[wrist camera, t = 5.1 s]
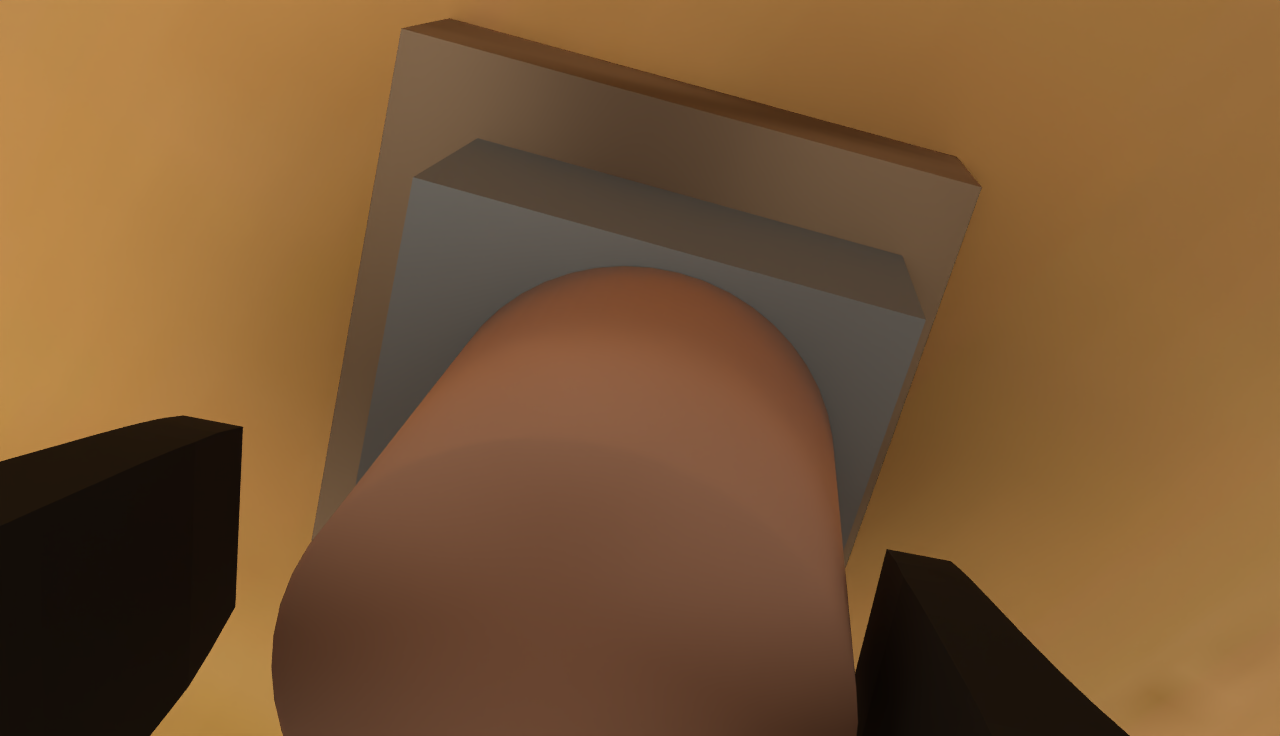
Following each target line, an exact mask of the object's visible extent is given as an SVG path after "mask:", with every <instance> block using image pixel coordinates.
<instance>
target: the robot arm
mask: <svg viewBox="0 0 1280 736" xmlns="http://www.w3.org/2000/svg"><path fill="white" fill-rule="evenodd" d="M242 434H243V427H241V426H236V425H231V424H225V423H220V422H215V421H209V420H204V419H199V418H194V417H188V416H176V417H168V418H162V419H157V420H152V421H147V422H143V423H139V424H135V425H131V426H127V427H123V428H119V429H115V430H111V431H108V432H104V433H100V434H97V435H93V436H90V437H86V438H82V439H79V440H75V441H72V442H68V443H65V444H61V445H58V446H54V447H50V448H47V449H43V450H40V451H36V452H33V453H29V454H26V455H22V456H18V457H15V458H11V459H8V460H4V461H1V462H0V736H150V735H151V734H152V732H153V731H154V730H155V729H156V727H157V726H158V725H159V724H160V722H161V721H162V720H163V719H164V717H165V716H166V715H167V714H168V712H169V711H170V710H171V709H172V707H173V706H174V705H175V703H176V702H177V701H178V700H179V698H180V697H181V696H182V694H183V693H184V692H185V690H186V689H187V688H188V687H189V685H190V683H191V682H192V680H193V678H194V677H195V675H196V674H197V672H198V670H199V669H200V667H201V665H202V664H203V662H204V660H205V659H206V657H207V656H208V654H209V652H210V651H211V649H212V647H213V645H214V644H215V642H216V640H217V638H218V636H219V635H220V633H221V631H222V629H223V628H224V626H225V624H226V622H227V620H228V619H229V617H230V615H231V613H232V612H233V610H234V608H235V601H236V577H237V554H238V530H239V506H240V482H241V458H242ZM855 681H856V694H857V714H858V726H857V736H1129V735H1128V734H1127V733H1126V732H1125V731H1124V730H1123V729H1121V728H1120V727H1119V726H1118V725H1117V724H1116V723H1115V722H1114V721H1112V720H1111V719H1110V718H1109V717H1108V716H1107V715H1106V714H1105V713H1103V712H1102V711H1101V710H1100V709H1099V708H1098V707H1097V706H1096V705H1094V704H1093V703H1092V702H1091V701H1090V700H1089V699H1088V698H1087V697H1086V696H1085V695H1084V694H1083V693H1082V692H1081V691H1080V690H1078V689H1077V688H1076V687H1075V686H1074V685H1073V684H1072V683H1071V682H1070V681H1069V680H1068V679H1067V678H1066V677H1065V676H1064V675H1063V674H1062V673H1061V672H1060V671H1059V670H1058V669H1057V668H1056V667H1055V666H1054V665H1053V664H1052V663H1051V662H1050V661H1049V660H1048V659H1047V658H1046V657H1045V656H1044V655H1043V654H1042V653H1041V652H1040V651H1039V650H1038V649H1037V648H1036V647H1035V646H1034V645H1033V644H1032V643H1031V642H1030V641H1029V640H1028V639H1027V638H1026V637H1025V636H1024V635H1023V634H1022V633H1021V632H1020V631H1019V630H1018V629H1017V627H1016V626H1015V625H1014V624H1013V623H1012V622H1011V621H1010V620H1009V619H1008V618H1007V617H1006V616H1005V615H1004V614H1003V613H1002V612H1001V611H1000V610H999V609H998V607H997V606H996V605H995V604H994V603H993V602H992V601H991V600H990V599H989V598H988V597H987V596H986V595H985V594H984V593H983V592H982V591H981V590H980V589H979V588H978V587H977V586H976V584H975V583H974V582H973V581H972V580H971V579H970V578H969V577H968V576H967V575H966V574H965V573H963V572H962V571H961V570H960V569H959V568H958V567H957V566H956V565H954V564H953V563H952V562H951V561H946V560H941V559H936V558H930V557H925V556H920V555H915V554H909V553H904V552H899V551H893V550H888V549H887V550H886V554H885V558H884V562H883V566H882V570H881V574H880V578H879V582H878V586H877V590H876V594H875V598H874V601H873V605H872V609H871V613H870V617H869V621H868V625H867V629H866V633H865V637H864V641H863V645H862V649H861V653H860V657H859V660H858V664H857V668H856V672H855Z"/></svg>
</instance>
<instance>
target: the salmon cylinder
mask: <svg viewBox="0 0 1280 736" xmlns="http://www.w3.org/2000/svg"><path fill="white" fill-rule="evenodd" d="M272 679H273V690H274V701H275V705H276V709H277V713H278V718H279V722H280V726H281V730H282V733H283V736H857V726H858V714H857V694H856V681H855V670H854V660H853V649H852V638H851V628H850V617H849V607H848V596H847V585H846V575H845V564H844V554H843V543H842V532H841V522H840V511H839V500H838V490H837V479H836V469H835V458H834V447H833V437H832V432H831V427H830V422H829V417H828V413H827V410H826V407H825V404H824V401H823V399H822V396H821V393H820V390H819V388H818V386H817V384H816V382H815V380H814V378H813V376H812V374H811V372H810V371H809V369H808V367H807V365H806V364H805V362H804V361H803V359H802V358H801V357H800V355H799V354H798V352H797V351H796V350H795V348H794V347H793V345H792V344H791V343H790V342H789V341H788V340H787V339H786V338H785V336H784V335H783V334H782V333H781V332H780V331H779V330H778V329H777V328H776V327H775V326H774V325H773V324H772V323H771V322H770V321H768V320H767V319H766V318H765V317H764V316H762V315H761V314H760V313H759V312H758V311H756V310H755V309H754V308H753V307H751V306H750V305H748V304H746V303H745V302H743V301H742V300H740V299H739V298H737V297H735V296H734V295H732V294H731V293H729V292H727V291H725V290H722V289H720V288H718V287H716V286H714V285H712V284H710V283H707V282H705V281H703V280H699V279H696V278H693V277H690V276H687V275H684V274H681V273H677V272H672V271H667V270H661V269H656V268H650V267H632V266H616V267H602V268H593V269H588V270H583V271H579V272H574V273H569V274H566V275H563V276H560V277H558V278H555V279H552V280H549V281H546V282H544V283H542V284H540V285H538V286H536V287H534V288H532V289H530V290H528V291H526V292H524V293H522V294H520V295H519V296H517V297H516V298H515V299H513V300H512V301H510V302H509V303H507V304H506V305H504V306H503V307H502V308H500V309H499V310H498V311H497V312H496V313H495V314H494V315H493V316H492V317H490V318H489V319H488V320H487V321H486V322H485V323H484V324H483V325H482V326H481V327H480V328H479V330H478V331H477V332H476V333H475V335H474V336H473V337H472V338H471V339H470V341H469V342H468V343H467V344H466V346H465V347H464V348H463V349H462V351H461V352H460V353H459V355H458V356H457V357H456V358H455V360H454V361H453V362H452V363H451V365H450V366H449V367H448V369H447V370H446V371H445V372H444V374H443V375H442V376H441V377H440V379H439V380H438V381H437V383H436V384H435V385H434V386H433V388H432V389H431V390H430V392H429V393H428V394H427V395H426V397H425V398H424V399H423V400H422V402H421V403H420V404H419V406H418V407H417V408H416V409H415V411H414V412H413V413H412V414H411V416H410V417H409V418H408V420H407V421H406V422H405V423H404V425H403V426H402V427H401V428H400V430H399V431H398V432H397V434H396V435H395V436H394V437H393V439H392V440H391V441H390V442H389V444H388V445H387V446H386V448H385V449H384V450H383V451H382V453H381V454H380V455H379V456H378V458H377V459H376V460H375V462H374V463H373V464H372V465H371V467H370V468H369V469H368V470H367V472H366V473H365V474H364V476H363V477H362V478H361V479H360V481H359V482H358V483H357V484H356V486H355V487H354V488H353V490H352V491H351V492H350V493H349V495H348V496H347V497H346V498H345V500H344V501H343V502H342V504H341V505H340V506H339V507H338V509H337V510H336V511H335V512H334V514H333V515H332V516H331V518H330V519H329V520H328V521H327V523H326V524H325V525H324V527H323V528H322V529H321V530H320V532H319V533H318V534H317V535H316V537H315V538H314V539H313V541H312V542H311V543H310V544H309V546H308V548H307V549H306V551H305V553H304V554H303V556H302V558H301V560H300V561H299V563H298V565H297V566H296V568H295V570H294V572H293V573H292V576H291V578H290V581H289V583H288V586H287V588H286V591H285V594H284V596H283V599H282V601H281V604H280V608H279V613H278V617H277V622H276V626H275V631H274V636H273V652H272Z"/></svg>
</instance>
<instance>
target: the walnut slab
mask: <svg viewBox="0 0 1280 736" xmlns="http://www.w3.org/2000/svg"><path fill="white" fill-rule="evenodd" d="M477 138H479V139H483V140H486V141H490V142H493V143H497V144H501V145H504V146H508V147H512V148H515V149H519V150H522V151H526V152H530V153H533V154H537V155H540V156H544V157H548V158H551V159H555V160H559V161H562V162H566V163H569V164H573V165H577V166H580V167H584V168H587V169H591V170H595V171H598V172H602V173H606V174H609V175H613V176H616V177H620V178H624V179H627V180H631V181H634V182H638V183H642V184H645V185H649V186H652V187H656V188H660V189H663V190H667V191H671V192H674V193H678V194H681V195H685V196H689V197H692V198H696V199H699V200H703V201H707V202H710V203H714V204H718V205H721V206H725V207H728V208H732V209H736V210H739V211H743V212H746V213H750V214H754V215H757V216H761V217H764V218H768V219H772V220H775V221H779V222H783V223H786V224H790V225H793V226H797V227H801V228H804V229H808V230H811V231H815V232H819V233H822V234H826V235H829V236H833V237H837V238H840V239H844V240H848V241H851V242H855V243H858V244H862V245H866V246H869V247H873V248H876V249H880V250H884V251H887V252H891V253H894V254H898V255H902V256H903V259H904V262H905V264H906V267H907V270H908V272H909V275H910V278H911V281H912V283H913V286H914V289H915V291H916V294H917V297H918V300H919V302H920V305H921V308H922V310H923V313H924V316H925V319H926V321H925V324H924V327H923V330H922V332H921V335H920V338H919V341H918V344H917V346H916V349H915V352H914V355H913V358H912V360H911V363H910V366H909V369H908V372H907V374H906V377H905V380H904V383H903V386H902V388H901V391H900V394H899V397H898V400H897V402H896V405H895V408H894V411H893V414H892V416H891V419H890V422H889V425H888V428H887V430H886V433H885V436H884V439H883V442H882V445H881V447H880V450H879V453H878V456H877V459H876V461H875V464H874V467H873V470H872V473H871V475H870V478H869V481H868V484H867V487H866V489H865V492H864V495H863V498H862V501H861V503H860V506H859V509H858V512H857V515H856V517H855V520H854V523H853V526H852V529H851V531H850V534H849V537H848V540H847V543H846V545H845V548H844V551H843V554H844V564H845V568H846V565H847V562H848V559H849V556H850V554H851V551H852V548H853V545H854V542H855V540H856V537H857V534H858V531H859V529H860V526H861V523H862V520H863V517H864V515H865V512H866V509H867V506H868V503H869V501H870V498H871V495H872V492H873V489H874V487H875V484H876V481H877V478H878V476H879V473H880V470H881V467H882V464H883V462H884V459H885V456H886V453H887V450H888V448H889V445H890V442H891V439H892V436H893V434H894V431H895V428H896V425H897V423H898V420H899V417H900V414H901V411H902V409H903V406H904V403H905V400H906V397H907V395H908V392H909V389H910V386H911V383H912V381H913V378H914V375H915V372H916V370H917V367H918V364H919V361H920V358H921V356H922V353H923V350H924V347H925V344H926V342H927V339H928V336H929V333H930V330H931V328H932V325H933V322H934V319H935V317H936V314H937V311H938V308H939V305H940V303H941V300H942V297H943V294H944V291H945V289H946V286H947V283H948V280H949V277H950V275H951V272H952V269H953V266H954V264H955V261H956V258H957V255H958V252H959V250H960V247H961V244H962V241H963V238H964V236H965V233H966V230H967V227H968V224H969V222H970V219H971V216H972V213H973V211H974V208H975V205H976V202H977V199H978V197H979V194H980V191H981V188H982V187H981V186H980V185H979V183H978V182H977V181H976V180H975V179H974V177H973V176H972V175H971V174H970V172H969V171H968V170H967V169H966V168H965V166H964V165H963V164H962V163H961V161H960V160H959V159H958V158H957V157H955V156H951V155H948V154H944V153H940V152H937V151H933V150H929V149H926V148H922V147H918V146H915V145H911V144H907V143H904V142H900V141H896V140H893V139H889V138H885V137H882V136H878V135H874V134H871V133H867V132H863V131H860V130H856V129H852V128H849V127H845V126H841V125H838V124H834V123H830V122H827V121H823V120H819V119H816V118H812V117H808V116H805V115H801V114H797V113H794V112H790V111H786V110H783V109H779V108H775V107H772V106H768V105H764V104H761V103H757V102H753V101H750V100H746V99H742V98H739V97H735V96H731V95H728V94H724V93H720V92H717V91H713V90H709V89H706V88H702V87H698V86H695V85H691V84H687V83H684V82H680V81H677V80H673V79H669V78H666V77H662V76H658V75H655V74H651V73H647V72H644V71H640V70H636V69H633V68H629V67H625V66H622V65H618V64H614V63H611V62H607V61H603V60H600V59H596V58H592V57H589V56H585V55H581V54H578V53H574V52H570V51H567V50H563V49H559V48H556V47H552V46H548V45H545V44H541V43H537V42H534V41H530V40H526V39H523V38H519V37H515V36H512V35H508V34H504V33H501V32H497V31H493V30H490V29H486V28H482V27H479V26H475V25H471V24H468V23H464V22H460V21H457V20H453V19H445V20H440V21H435V22H430V23H425V24H420V25H416V26H411V27H406V28H401V34H400V39H399V45H398V51H397V56H396V62H395V68H394V74H393V79H392V85H391V91H390V96H389V102H388V108H387V113H386V119H385V125H384V131H383V136H382V142H381V148H380V153H379V159H378V165H377V171H376V176H375V182H374V188H373V193H372V199H371V205H370V211H369V216H368V222H367V228H366V233H365V239H364V245H363V250H362V256H361V262H360V268H359V273H358V279H357V285H356V290H355V296H354V302H353V308H352V313H351V319H350V325H349V330H348V336H347V342H346V347H345V353H344V359H343V365H342V370H341V376H340V382H339V387H338V393H337V399H336V405H335V410H334V416H333V422H332V427H331V433H330V439H329V445H328V450H327V456H326V462H325V467H324V473H323V479H322V484H321V490H320V496H319V502H318V507H317V513H316V519H315V524H314V530H313V536H312V541H313V539H314V538H315V537H316V535H317V534H318V533H319V532H320V530H321V529H322V528H323V527H324V525H325V524H326V523H327V521H328V520H329V519H330V518H331V516H332V515H333V514H334V512H335V511H336V510H337V509H338V507H339V506H340V505H341V504H342V502H343V501H344V500H345V498H346V497H347V496H348V495H349V493H350V492H351V491H352V490H353V488H354V487H355V485H356V479H357V474H358V469H359V463H360V458H361V453H362V447H363V442H364V437H365V431H366V426H367V421H368V415H369V410H370V405H371V399H372V394H373V389H374V383H375V378H376V372H377V367H378V362H379V356H380V351H381V346H382V340H383V335H384V330H385V324H386V319H387V314H388V308H389V303H390V298H391V292H392V287H393V282H394V276H395V271H396V266H397V260H398V255H399V249H400V244H401V239H402V233H403V228H404V223H405V217H406V212H407V207H408V201H409V196H410V191H411V185H412V180H413V177H414V176H416V175H417V174H419V173H421V172H422V171H424V170H426V169H427V168H429V167H431V166H432V165H434V164H436V163H437V162H439V161H441V160H442V159H444V158H445V157H447V156H449V155H450V154H452V153H454V152H455V151H457V150H459V149H460V148H462V147H464V146H465V145H467V144H469V143H470V142H472V141H474V140H475V139H477Z"/></svg>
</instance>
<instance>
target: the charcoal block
mask: <svg viewBox="0 0 1280 736" xmlns="http://www.w3.org/2000/svg"><path fill="white" fill-rule="evenodd" d="M616 266H632V267H650V268H656V269H661V270H667V271H672V272H677V273H681V274H684V275H687V276H690V277H693V278H696V279H699V280H703V281H705V282H707V283H710V284H712V285H714V286H716V287H718V288H720V289H722V290H725V291H727V292H729V293H731V294H732V295H734V296H735V297H737V298H739V299H740V300H742V301H743V302H745V303H746V304H748V305H750V306H751V307H753V308H754V309H755V310H756V311H758V312H759V313H760V314H761V315H762V316H764V317H765V318H766V319H767V320H768V321H770V322H771V323H772V324H773V325H774V326H775V327H776V328H777V329H778V330H779V331H780V332H781V333H782V334H783V335H784V336H785V338H786V339H787V340H788V341H789V342H790V343H791V344H792V345H793V347H794V348H795V350H796V351H797V352H798V354H799V355H800V357H801V358H802V359H803V361H804V362H805V364H806V365H807V367H808V369H809V371H810V372H811V374H812V376H813V378H814V380H815V382H816V384H817V386H818V388H819V390H820V393H821V396H822V399H823V401H824V404H825V407H826V410H827V413H828V417H829V422H830V427H831V432H832V437H833V447H834V458H835V469H836V479H837V490H838V500H839V511H840V522H841V532H842V543H843V551H844V548H845V545H846V543H847V540H848V537H849V534H850V531H851V529H852V526H853V523H854V520H855V517H856V515H857V512H858V509H859V506H860V503H861V501H862V498H863V495H864V492H865V489H866V487H867V484H868V481H869V478H870V475H871V473H872V470H873V467H874V464H875V461H876V459H877V456H878V453H879V450H880V447H881V445H882V442H883V439H884V436H885V433H886V430H887V428H888V425H889V422H890V419H891V416H892V414H893V411H894V408H895V405H896V402H897V400H898V397H899V394H900V391H901V388H902V386H903V383H904V380H905V377H906V374H907V372H908V369H909V366H910V363H911V360H912V358H913V355H914V352H915V349H916V346H917V344H918V341H919V338H920V335H921V332H922V330H923V327H924V324H925V321H926V319H925V316H924V313H923V310H922V308H921V305H920V302H919V300H918V297H917V294H916V291H915V289H914V286H913V283H912V281H911V278H910V275H909V272H908V270H907V267H906V264H905V262H904V259H903V256H902V255H898V254H894V253H891V252H887V251H884V250H880V249H876V248H873V247H869V246H866V245H862V244H858V243H855V242H851V241H848V240H844V239H840V238H837V237H833V236H829V235H826V234H822V233H819V232H815V231H811V230H808V229H804V228H801V227H797V226H793V225H790V224H786V223H783V222H779V221H775V220H772V219H768V218H764V217H761V216H757V215H754V214H750V213H746V212H743V211H739V210H736V209H732V208H728V207H725V206H721V205H718V204H714V203H710V202H707V201H703V200H699V199H696V198H692V197H689V196H685V195H681V194H678V193H674V192H671V191H667V190H663V189H660V188H656V187H652V186H649V185H645V184H642V183H638V182H634V181H631V180H627V179H624V178H620V177H616V176H613V175H609V174H606V173H602V172H598V171H595V170H591V169H587V168H584V167H580V166H577V165H573V164H569V163H566V162H562V161H559V160H555V159H551V158H548V157H544V156H540V155H537V154H533V153H530V152H526V151H522V150H519V149H515V148H512V147H508V146H504V145H501V144H497V143H493V142H490V141H486V140H483V139H479V138H477V139H475V140H474V141H472V142H470V143H469V144H467V145H465V146H464V147H462V148H460V149H459V150H457V151H455V152H454V153H452V154H450V155H449V156H447V157H445V158H444V159H442V160H441V161H439V162H437V163H436V164H434V165H432V166H431V167H429V168H427V169H426V170H424V171H422V172H421V173H419V174H417V175H416V176H414V177H413V180H412V185H411V191H410V196H409V201H408V207H407V212H406V217H405V223H404V228H403V233H402V239H401V244H400V249H399V255H398V260H397V266H396V271H395V276H394V282H393V287H392V292H391V298H390V303H389V308H388V314H387V319H386V324H385V330H384V335H383V340H382V346H381V351H380V356H379V362H378V367H377V372H376V378H375V383H374V389H373V394H372V399H371V405H370V410H369V415H368V421H367V426H366V431H365V437H364V442H363V447H362V453H361V458H360V463H359V469H358V474H357V479H356V484H357V483H358V482H359V481H360V479H361V478H362V477H363V476H364V474H365V473H366V472H367V470H368V469H369V468H370V467H371V465H372V464H373V463H374V462H375V460H376V459H377V458H378V456H379V455H380V454H381V453H382V451H383V450H384V449H385V448H386V446H387V445H388V444H389V442H390V441H391V440H392V439H393V437H394V436H395V435H396V434H397V432H398V431H399V430H400V428H401V427H402V426H403V425H404V423H405V422H406V421H407V420H408V418H409V417H410V416H411V414H412V413H413V412H414V411H415V409H416V408H417V407H418V406H419V404H420V403H421V402H422V400H423V399H424V398H425V397H426V395H427V394H428V393H429V392H430V390H431V389H432V388H433V386H434V385H435V384H436V383H437V381H438V380H439V379H440V377H441V376H442V375H443V374H444V372H445V371H446V370H447V369H448V367H449V366H450V365H451V363H452V362H453V361H454V360H455V358H456V357H457V356H458V355H459V353H460V352H461V351H462V349H463V348H464V347H465V346H466V344H467V343H468V342H469V341H470V339H471V338H472V337H473V336H474V335H475V333H476V332H477V331H478V330H479V328H480V327H481V326H482V325H483V324H484V323H485V322H486V321H487V320H488V319H489V318H490V317H492V316H493V315H494V314H495V313H496V312H497V311H498V310H499V309H500V308H502V307H503V306H504V305H506V304H507V303H509V302H510V301H512V300H513V299H515V298H516V297H517V296H519V295H520V294H522V293H524V292H526V291H528V290H530V289H532V288H534V287H536V286H538V285H540V284H542V283H544V282H546V281H549V280H552V279H555V278H558V277H560V276H563V275H566V274H569V273H574V272H579V271H583V270H588V269H593V268H602V267H616ZM355 486H356V485H355Z"/></svg>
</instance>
